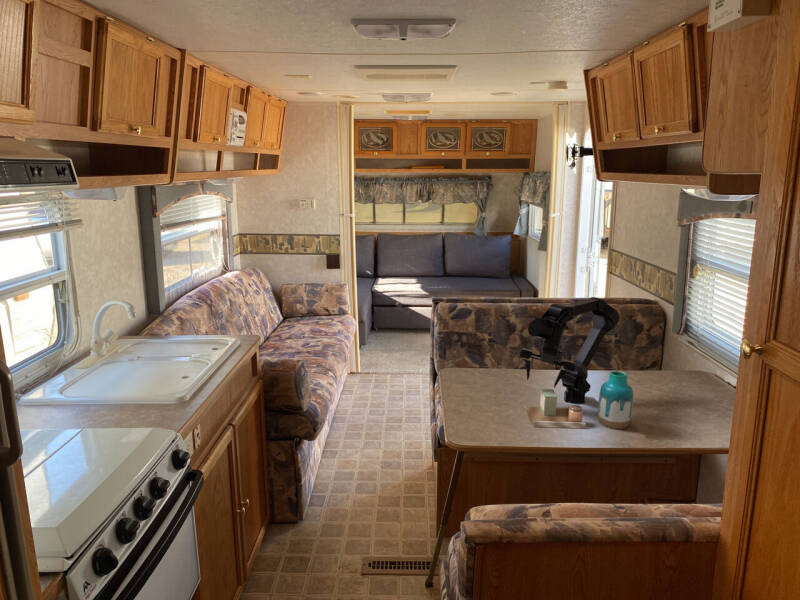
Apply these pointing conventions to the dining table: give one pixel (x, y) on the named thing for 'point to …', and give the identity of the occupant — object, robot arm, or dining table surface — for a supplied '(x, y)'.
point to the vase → (615, 401)
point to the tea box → (548, 402)
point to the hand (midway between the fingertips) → (540, 383)
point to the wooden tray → (552, 418)
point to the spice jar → (575, 413)
